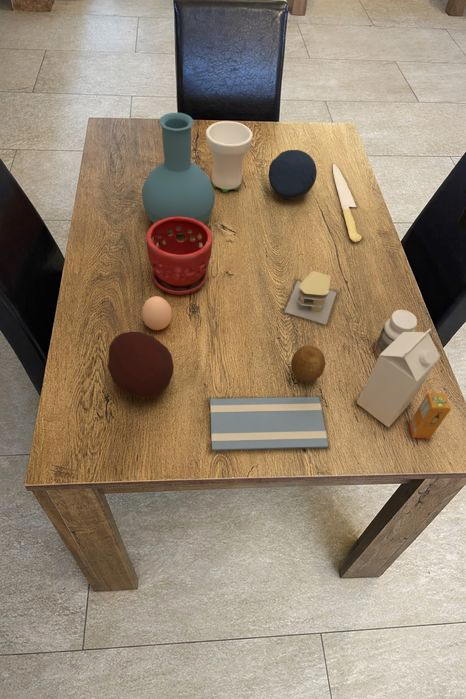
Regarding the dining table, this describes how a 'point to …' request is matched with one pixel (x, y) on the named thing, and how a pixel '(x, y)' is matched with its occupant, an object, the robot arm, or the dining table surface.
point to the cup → (228, 152)
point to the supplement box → (429, 415)
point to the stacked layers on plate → (312, 298)
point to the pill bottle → (395, 329)
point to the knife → (346, 203)
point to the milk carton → (398, 376)
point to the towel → (267, 423)
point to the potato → (140, 364)
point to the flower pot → (179, 254)
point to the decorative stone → (292, 174)
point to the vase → (177, 177)
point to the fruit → (308, 363)
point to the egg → (156, 313)
